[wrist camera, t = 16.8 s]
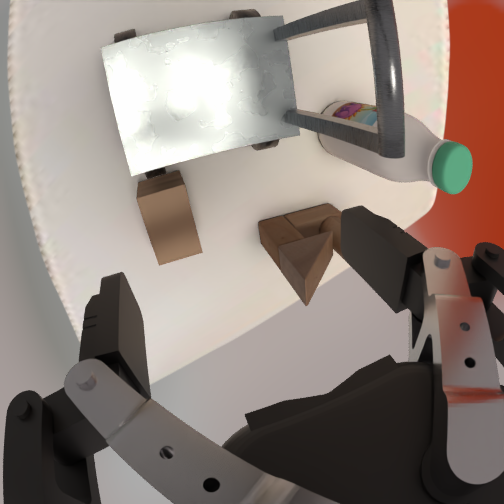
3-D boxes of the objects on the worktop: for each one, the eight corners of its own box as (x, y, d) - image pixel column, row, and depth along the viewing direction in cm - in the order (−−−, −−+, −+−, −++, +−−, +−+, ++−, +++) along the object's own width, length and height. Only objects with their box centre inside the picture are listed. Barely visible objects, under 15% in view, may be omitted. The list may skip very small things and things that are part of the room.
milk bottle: (361, 156, 42) (473, 209, 25) (314, 156, 40) (424, 215, 23) (366, 103, 38) (487, 133, 21) (317, 98, 36) (440, 121, 19)
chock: (138, 182, 35) (136, 198, 30) (179, 170, 36) (184, 184, 31) (156, 241, 39) (159, 265, 34) (194, 230, 40) (202, 252, 35)
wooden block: (257, 220, 42) (322, 303, 27) (329, 202, 44) (415, 266, 29) (260, 245, 44) (322, 332, 29) (330, 225, 46) (409, 294, 31)
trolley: (109, 42, 26) (47, -32, 6) (252, 14, 29) (386, -52, 9) (139, 173, 34) (133, 293, 15) (272, 140, 37) (408, 209, 18)
